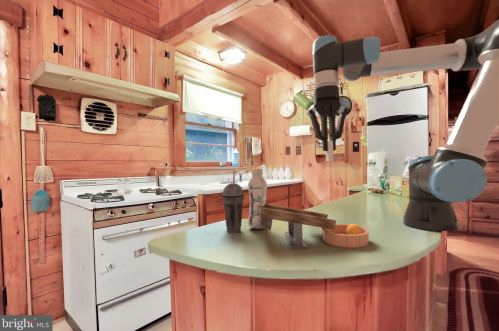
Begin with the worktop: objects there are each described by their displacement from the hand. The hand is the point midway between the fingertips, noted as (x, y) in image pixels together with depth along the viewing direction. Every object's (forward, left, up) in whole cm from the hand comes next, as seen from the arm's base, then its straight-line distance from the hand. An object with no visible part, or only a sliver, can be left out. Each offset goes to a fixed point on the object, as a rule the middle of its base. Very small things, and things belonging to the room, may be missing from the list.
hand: (329, 161), depth 81 cm
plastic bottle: (+23, -3, -23) cm, 33 cm away
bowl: (-1, +11, -22) cm, 25 cm away
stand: (+13, +11, -22) cm, 28 cm away
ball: (-3, +11, -20) cm, 23 cm away
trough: (+14, +7, -19) cm, 25 cm away
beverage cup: (+31, -1, -23) cm, 39 cm away
